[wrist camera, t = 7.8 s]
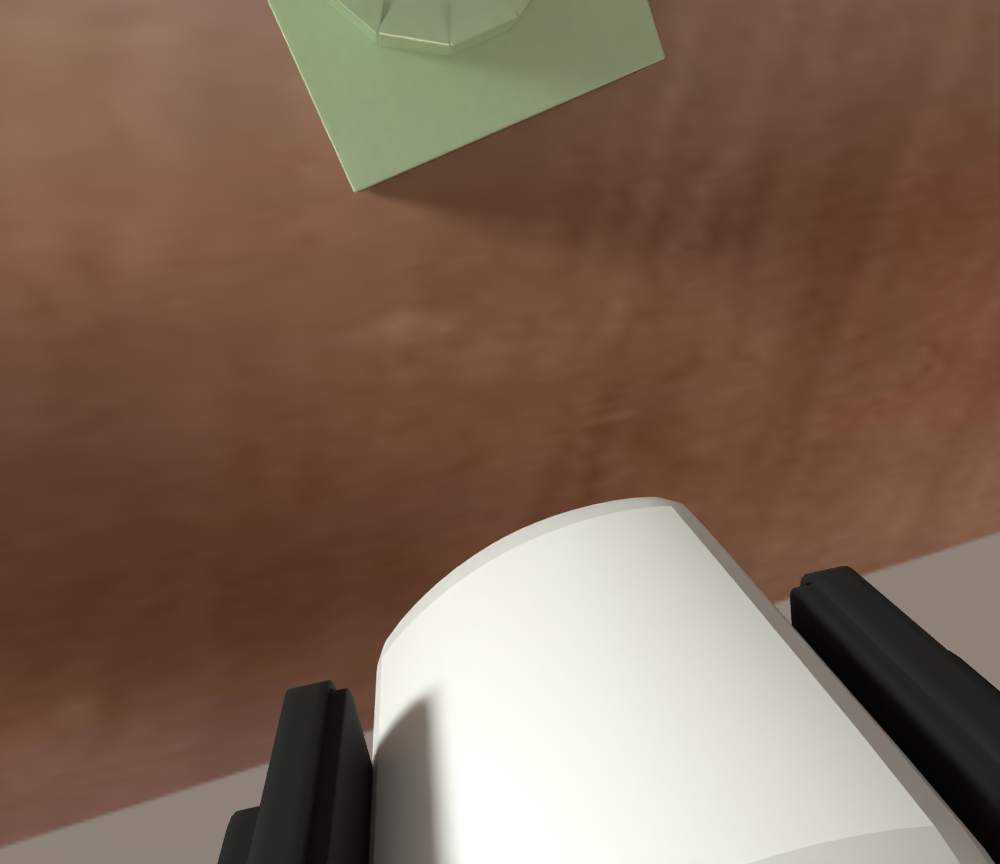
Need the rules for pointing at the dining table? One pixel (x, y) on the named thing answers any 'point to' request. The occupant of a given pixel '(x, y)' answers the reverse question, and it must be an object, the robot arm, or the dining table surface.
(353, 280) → the dining table surface
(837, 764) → the eye dropper bottle
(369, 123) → the button base
